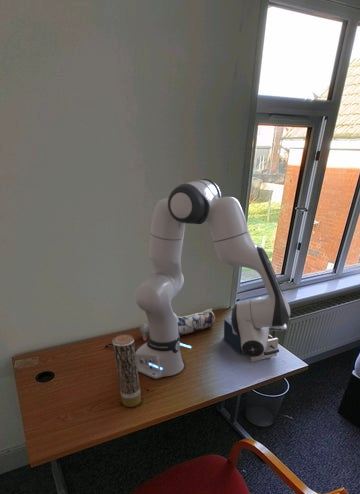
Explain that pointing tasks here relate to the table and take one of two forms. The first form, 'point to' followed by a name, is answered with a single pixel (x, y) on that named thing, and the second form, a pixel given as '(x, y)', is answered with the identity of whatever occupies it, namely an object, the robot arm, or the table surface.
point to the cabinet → (232, 336)
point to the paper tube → (127, 370)
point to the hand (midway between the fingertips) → (259, 312)
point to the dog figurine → (144, 329)
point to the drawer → (268, 349)
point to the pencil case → (195, 322)
